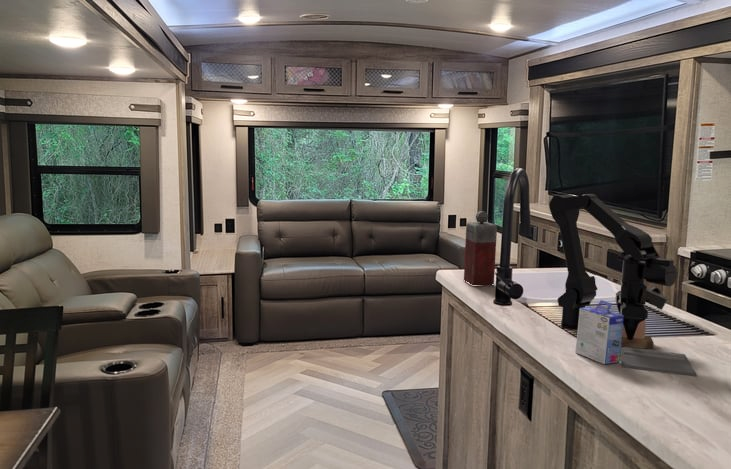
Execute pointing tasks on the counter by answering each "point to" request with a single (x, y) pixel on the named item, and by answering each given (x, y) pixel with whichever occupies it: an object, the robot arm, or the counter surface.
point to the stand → (638, 342)
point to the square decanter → (480, 251)
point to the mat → (656, 361)
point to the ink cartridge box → (599, 333)
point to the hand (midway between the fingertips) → (628, 334)
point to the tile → (637, 331)
